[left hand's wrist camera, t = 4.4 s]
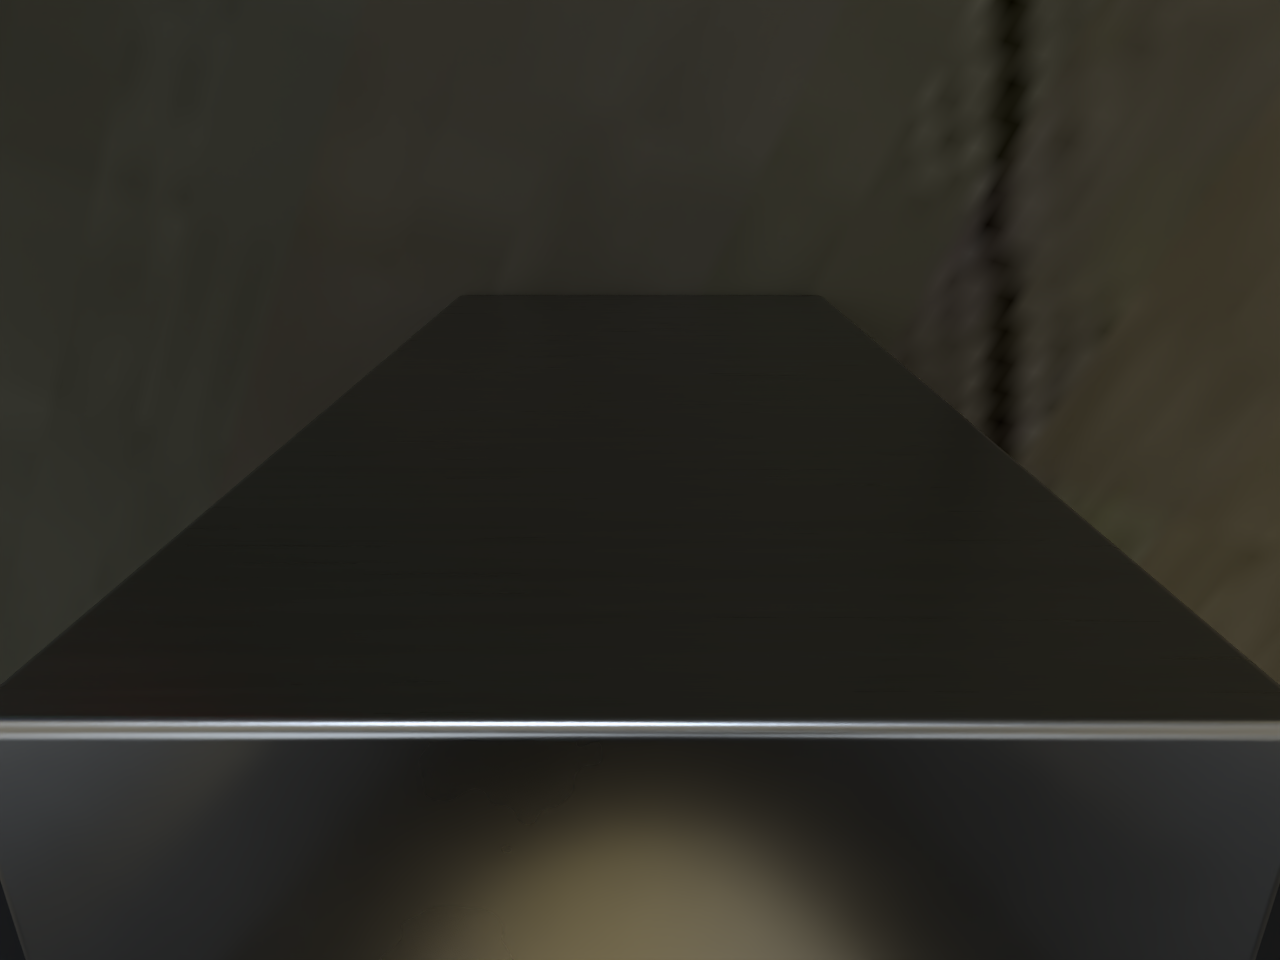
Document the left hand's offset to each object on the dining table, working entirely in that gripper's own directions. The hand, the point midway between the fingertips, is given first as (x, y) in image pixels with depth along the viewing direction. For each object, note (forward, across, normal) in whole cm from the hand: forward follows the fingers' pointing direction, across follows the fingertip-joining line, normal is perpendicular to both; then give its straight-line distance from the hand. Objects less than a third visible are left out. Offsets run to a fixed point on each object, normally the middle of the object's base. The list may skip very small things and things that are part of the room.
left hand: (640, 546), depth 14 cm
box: (+2, 0, -10) cm, 10 cm away
